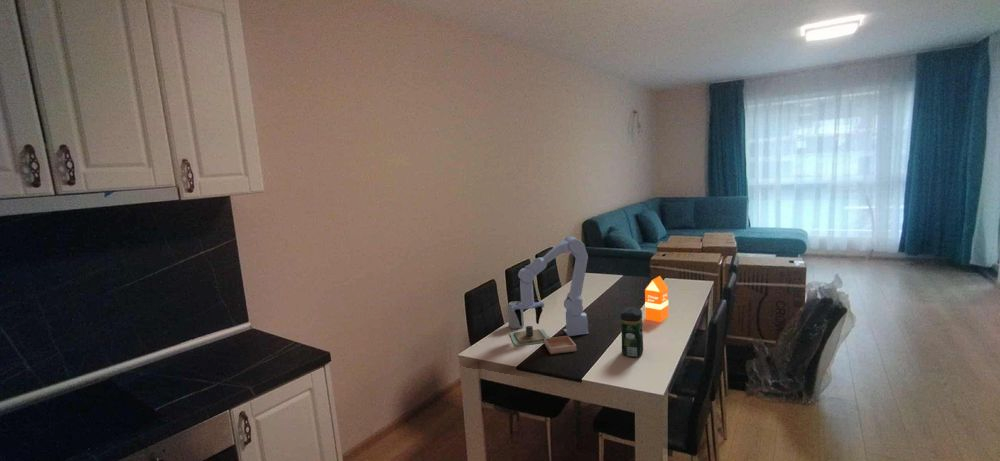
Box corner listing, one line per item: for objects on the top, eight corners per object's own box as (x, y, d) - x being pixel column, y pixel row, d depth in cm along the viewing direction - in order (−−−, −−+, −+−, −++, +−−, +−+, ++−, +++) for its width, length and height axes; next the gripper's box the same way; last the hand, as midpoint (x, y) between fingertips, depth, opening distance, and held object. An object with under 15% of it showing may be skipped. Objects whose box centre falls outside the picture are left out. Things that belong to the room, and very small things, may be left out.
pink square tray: (568, 340, 196) (568, 335, 196) (576, 350, 186) (576, 345, 185) (544, 344, 195) (543, 338, 194) (550, 354, 184) (550, 348, 184)
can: (523, 329, 213) (521, 305, 212) (507, 329, 215) (505, 305, 213) (525, 323, 221) (523, 300, 219) (510, 323, 222) (508, 300, 220)
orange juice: (668, 316, 217) (668, 276, 214) (660, 322, 211) (660, 280, 208) (653, 313, 222) (652, 274, 219) (645, 319, 216) (644, 278, 213)
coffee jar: (625, 346, 186) (624, 304, 184) (645, 349, 182) (644, 305, 180) (619, 356, 178) (618, 311, 175) (639, 359, 174) (638, 313, 171)
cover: (538, 330, 209) (538, 320, 208) (546, 340, 197) (545, 329, 197) (513, 334, 207) (513, 324, 206) (520, 344, 195) (519, 333, 194)
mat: (543, 330, 210) (543, 329, 210) (551, 341, 197) (550, 340, 197) (509, 334, 208) (509, 333, 208) (515, 346, 195) (515, 345, 194)
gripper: (512, 299, 195) (514, 329, 197) (545, 295, 197) (547, 325, 199) (509, 295, 201) (512, 323, 204) (541, 291, 204) (543, 319, 206)
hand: (529, 324), depth 202 cm, fingers open, 7 cm apart
